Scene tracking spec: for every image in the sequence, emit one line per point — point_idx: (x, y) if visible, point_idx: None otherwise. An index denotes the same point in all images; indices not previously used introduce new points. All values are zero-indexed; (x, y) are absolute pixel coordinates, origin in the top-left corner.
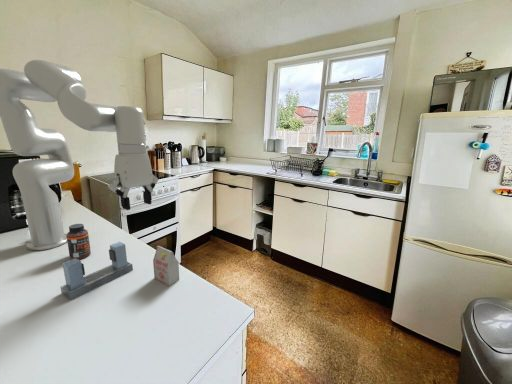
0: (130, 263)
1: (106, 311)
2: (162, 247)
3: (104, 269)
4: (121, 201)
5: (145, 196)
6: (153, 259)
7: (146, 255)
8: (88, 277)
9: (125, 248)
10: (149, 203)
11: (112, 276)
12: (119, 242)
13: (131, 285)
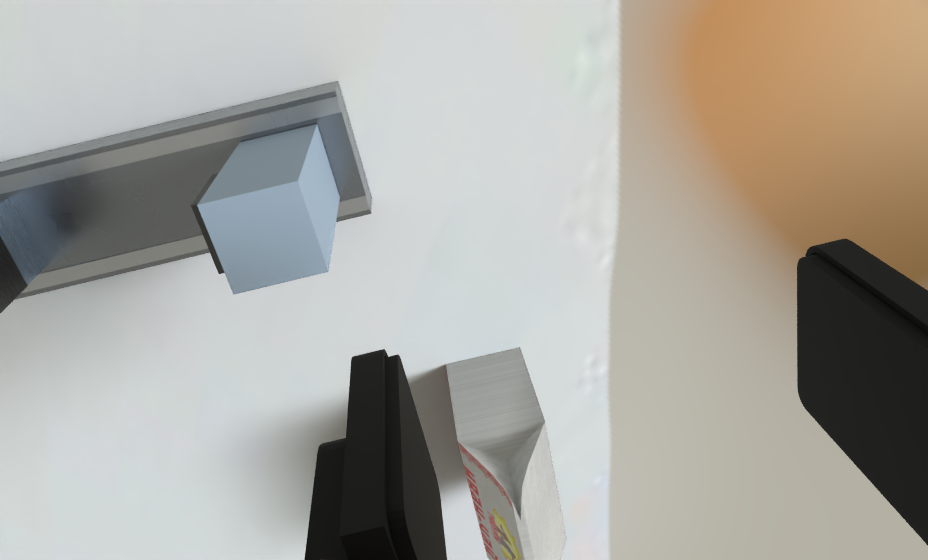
0: (364, 189)
1: (161, 473)
2: (530, 543)
3: (180, 153)
4: (318, 530)
5: (888, 397)
6: (461, 445)
7: (535, 41)
8: (67, 194)
9: (329, 254)
10: (810, 407)
11: None
12: (292, 198)
13: (313, 354)
